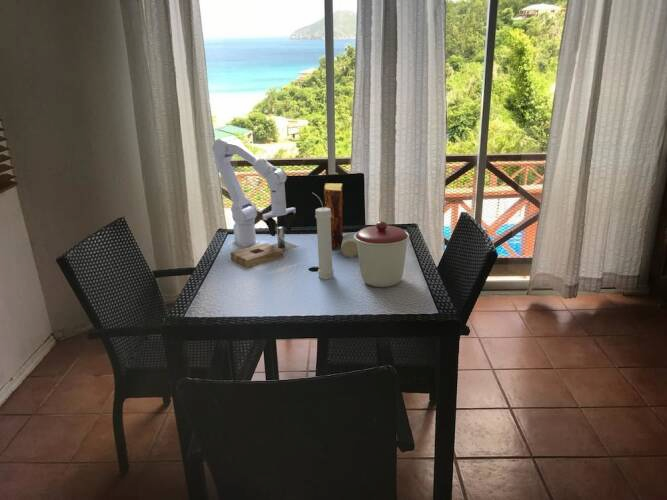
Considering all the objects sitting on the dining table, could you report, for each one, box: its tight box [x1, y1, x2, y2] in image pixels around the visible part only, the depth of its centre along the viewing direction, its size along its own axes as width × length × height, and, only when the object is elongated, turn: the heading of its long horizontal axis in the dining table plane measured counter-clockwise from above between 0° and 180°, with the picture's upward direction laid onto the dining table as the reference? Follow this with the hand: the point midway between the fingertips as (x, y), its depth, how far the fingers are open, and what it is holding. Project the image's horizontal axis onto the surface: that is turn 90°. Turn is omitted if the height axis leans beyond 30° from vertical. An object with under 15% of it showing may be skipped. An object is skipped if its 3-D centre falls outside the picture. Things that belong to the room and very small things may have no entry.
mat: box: [271, 240, 300, 252], centre depth 224 cm, size 10×10×1 cm
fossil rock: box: [323, 182, 344, 250], centre depth 223 cm, size 24×8×24 cm, turn 176°
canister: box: [354, 220, 410, 288], centre depth 183 cm, size 18×18×21 cm
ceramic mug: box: [340, 232, 358, 259], centre depth 212 cm, size 11×8×8 cm
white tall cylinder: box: [311, 192, 335, 280], centre depth 188 cm, size 6×6×30 cm
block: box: [230, 242, 284, 269], centre depth 212 cm, size 12×16×3 cm
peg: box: [276, 226, 286, 248], centre depth 223 cm, size 3×3×8 cm
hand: (280, 233), depth 222 cm, fingers open, 7 cm apart
